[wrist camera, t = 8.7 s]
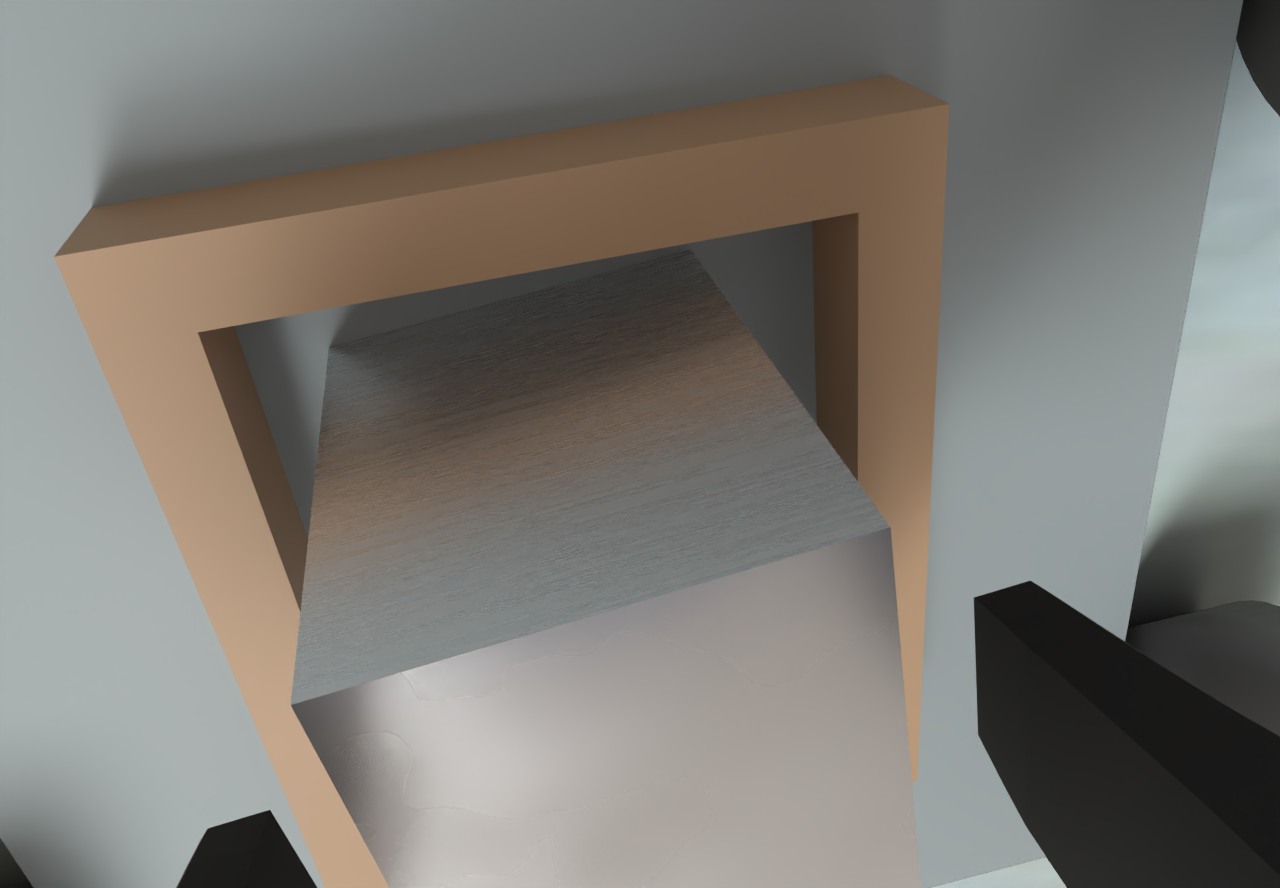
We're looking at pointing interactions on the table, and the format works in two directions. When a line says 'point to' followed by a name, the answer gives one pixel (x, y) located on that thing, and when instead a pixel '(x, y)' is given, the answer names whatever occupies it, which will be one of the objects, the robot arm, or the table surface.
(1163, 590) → the table surface
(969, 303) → the chassis board
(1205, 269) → the table surface
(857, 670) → the block
